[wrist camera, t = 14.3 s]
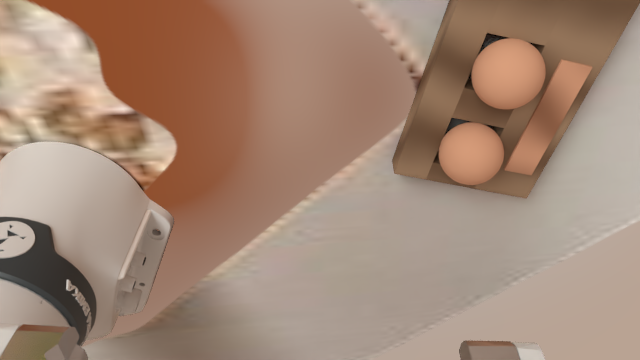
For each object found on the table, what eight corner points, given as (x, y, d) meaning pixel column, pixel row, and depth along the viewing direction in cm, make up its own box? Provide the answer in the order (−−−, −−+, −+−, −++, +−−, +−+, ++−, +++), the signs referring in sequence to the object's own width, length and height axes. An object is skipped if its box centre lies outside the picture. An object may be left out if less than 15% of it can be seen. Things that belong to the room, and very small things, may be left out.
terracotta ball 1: (481, 166, 45) (495, 202, 41) (426, 155, 44) (435, 191, 40) (505, 117, 42) (522, 151, 38) (446, 105, 42) (458, 138, 37)
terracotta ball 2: (514, 95, 41) (536, 127, 37) (454, 83, 40) (470, 115, 36) (543, 35, 38) (570, 63, 34) (479, 21, 37) (499, 48, 33)
